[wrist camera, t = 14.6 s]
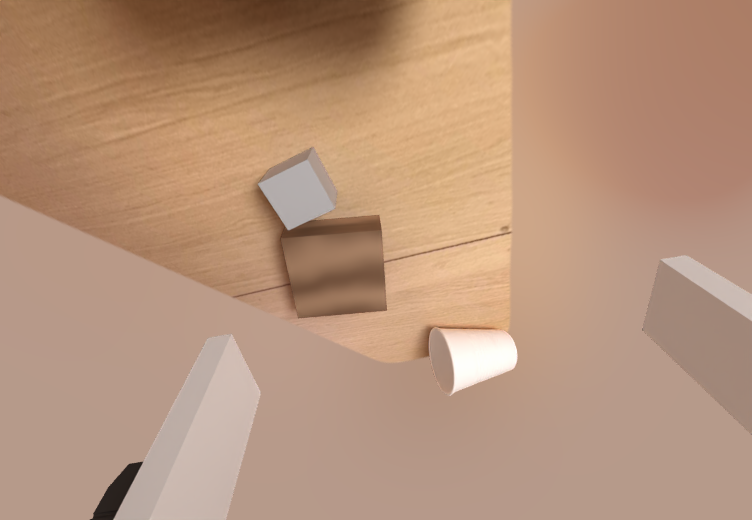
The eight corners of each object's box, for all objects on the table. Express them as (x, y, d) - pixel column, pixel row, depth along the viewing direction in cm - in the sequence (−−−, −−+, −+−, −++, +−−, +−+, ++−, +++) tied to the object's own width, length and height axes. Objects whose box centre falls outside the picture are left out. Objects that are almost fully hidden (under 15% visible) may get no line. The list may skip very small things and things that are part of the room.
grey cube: (269, 168, 43) (257, 184, 38) (313, 146, 42) (307, 159, 37) (295, 210, 46) (288, 230, 41) (337, 190, 45) (335, 208, 40)
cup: (531, 342, 49) (456, 354, 47) (520, 397, 53) (451, 411, 51) (494, 305, 58) (429, 314, 56) (487, 354, 62) (427, 365, 60)
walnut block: (287, 221, 47) (280, 238, 43) (379, 213, 47) (381, 230, 43) (302, 296, 53) (298, 318, 48) (384, 289, 53) (386, 310, 49)
